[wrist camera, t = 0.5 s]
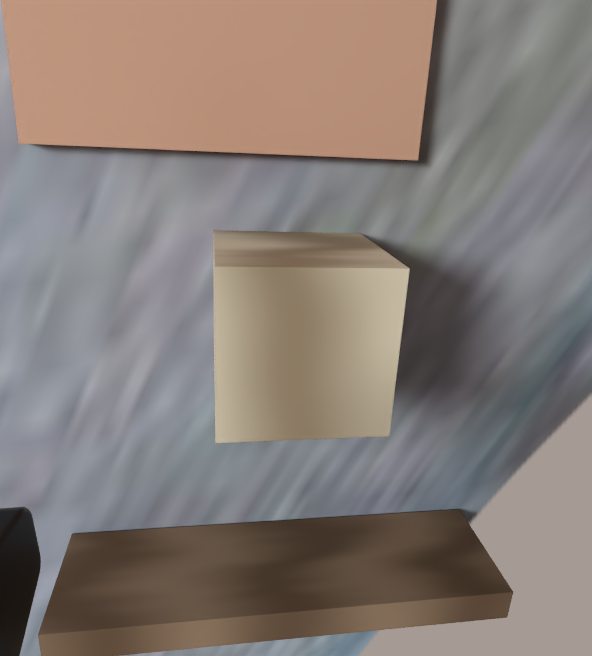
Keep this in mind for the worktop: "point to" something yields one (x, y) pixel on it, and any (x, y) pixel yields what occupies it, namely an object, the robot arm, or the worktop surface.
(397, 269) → the beige cube
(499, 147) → the worktop surface
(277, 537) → the dark brown wooden bar
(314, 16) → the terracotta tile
